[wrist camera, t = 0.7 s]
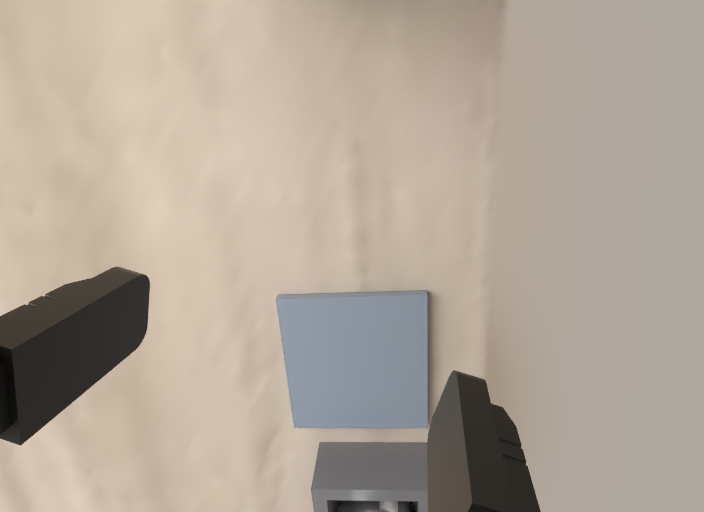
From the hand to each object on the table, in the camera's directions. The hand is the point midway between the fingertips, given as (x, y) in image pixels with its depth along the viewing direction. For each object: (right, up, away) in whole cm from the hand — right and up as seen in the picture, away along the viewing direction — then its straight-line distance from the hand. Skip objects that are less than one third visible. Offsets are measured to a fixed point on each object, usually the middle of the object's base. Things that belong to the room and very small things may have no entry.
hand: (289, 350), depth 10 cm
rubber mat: (+2, -7, +25) cm, 26 cm away
